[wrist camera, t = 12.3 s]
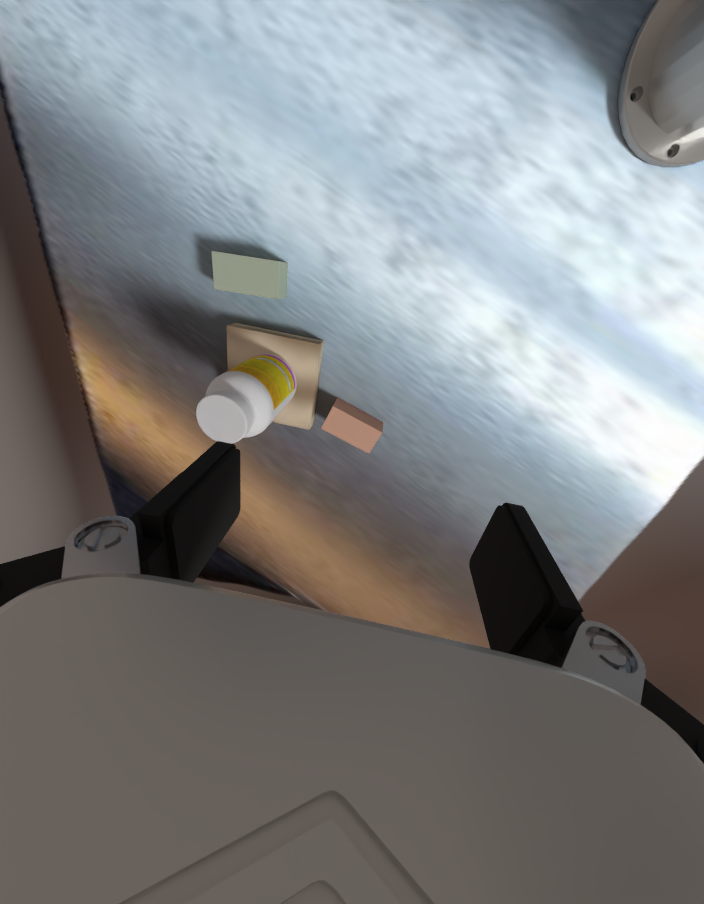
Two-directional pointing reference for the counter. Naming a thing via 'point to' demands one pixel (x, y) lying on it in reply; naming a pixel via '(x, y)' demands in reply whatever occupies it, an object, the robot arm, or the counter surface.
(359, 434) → the terracotta brick
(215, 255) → the sage brick
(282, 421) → the maple slab
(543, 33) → the counter surface
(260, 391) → the supplement bottle
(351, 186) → the counter surface
